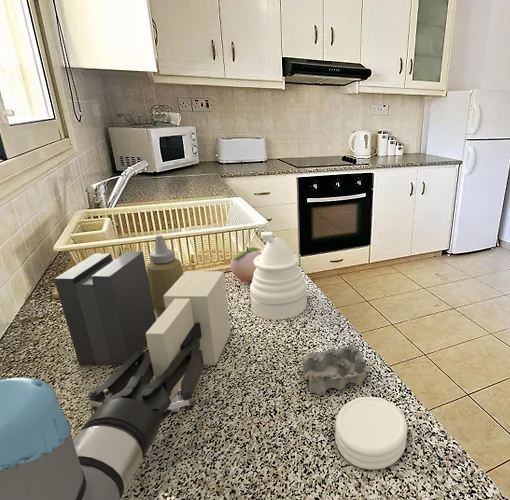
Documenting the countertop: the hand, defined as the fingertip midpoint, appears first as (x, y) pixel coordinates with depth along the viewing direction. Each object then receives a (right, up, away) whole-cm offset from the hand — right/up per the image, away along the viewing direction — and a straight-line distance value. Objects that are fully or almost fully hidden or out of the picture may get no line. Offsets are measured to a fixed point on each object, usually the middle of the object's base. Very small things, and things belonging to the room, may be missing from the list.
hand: (188, 329), depth 64 cm
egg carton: (+25, -9, +1) cm, 26 cm away
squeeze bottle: (-12, 0, +20) cm, 24 cm away
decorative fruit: (+1, +5, +35) cm, 35 cm away
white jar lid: (+30, -13, -11) cm, 35 cm away
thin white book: (0, -9, -2) cm, 9 cm away
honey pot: (+11, +1, +24) cm, 26 cm away
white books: (0, -5, +8) cm, 10 cm away
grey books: (-16, -5, +8) cm, 19 cm away
